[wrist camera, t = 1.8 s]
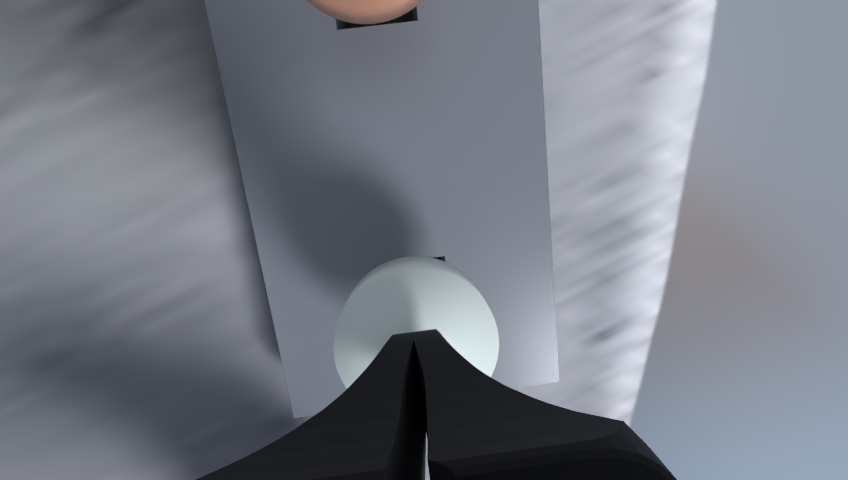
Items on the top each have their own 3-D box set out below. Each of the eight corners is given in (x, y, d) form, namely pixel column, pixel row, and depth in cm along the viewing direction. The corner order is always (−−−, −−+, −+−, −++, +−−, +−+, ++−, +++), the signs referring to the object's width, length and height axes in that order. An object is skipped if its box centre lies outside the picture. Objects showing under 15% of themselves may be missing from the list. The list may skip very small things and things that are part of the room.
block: (536, 350, 21) (559, 381, 18) (309, 381, 20) (293, 418, 17) (504, -138, 16) (527, -205, 13) (212, -107, 16) (167, -169, 13)
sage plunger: (479, 346, 17) (505, 410, 12) (362, 362, 16) (347, 432, 12) (468, 231, 15) (491, 258, 11) (343, 247, 15) (319, 280, 11)
